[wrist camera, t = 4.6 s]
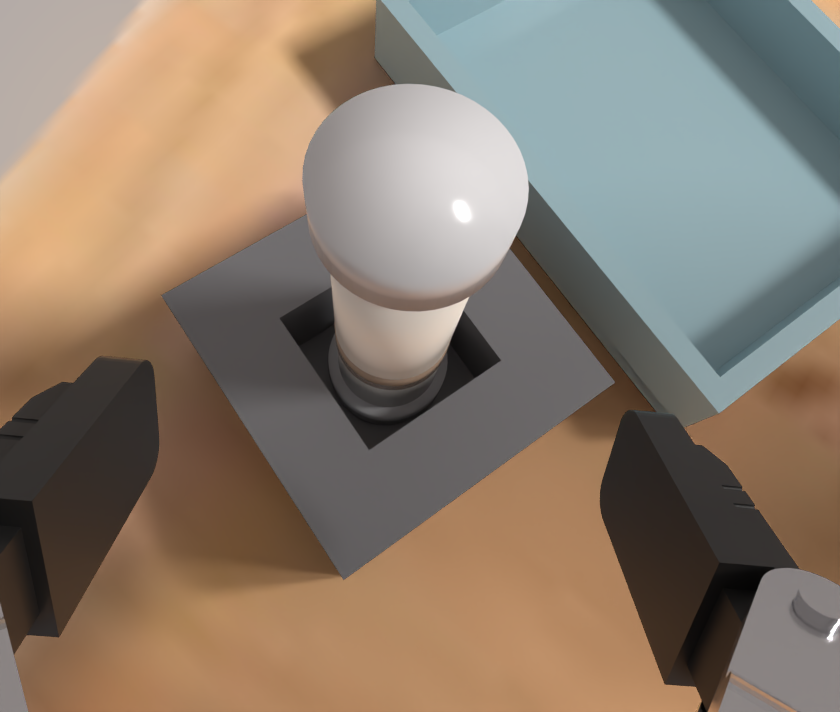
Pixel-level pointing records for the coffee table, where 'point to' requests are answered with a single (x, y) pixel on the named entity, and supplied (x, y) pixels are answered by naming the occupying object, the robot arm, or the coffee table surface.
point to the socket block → (363, 441)
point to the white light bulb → (407, 235)
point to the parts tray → (660, 169)
